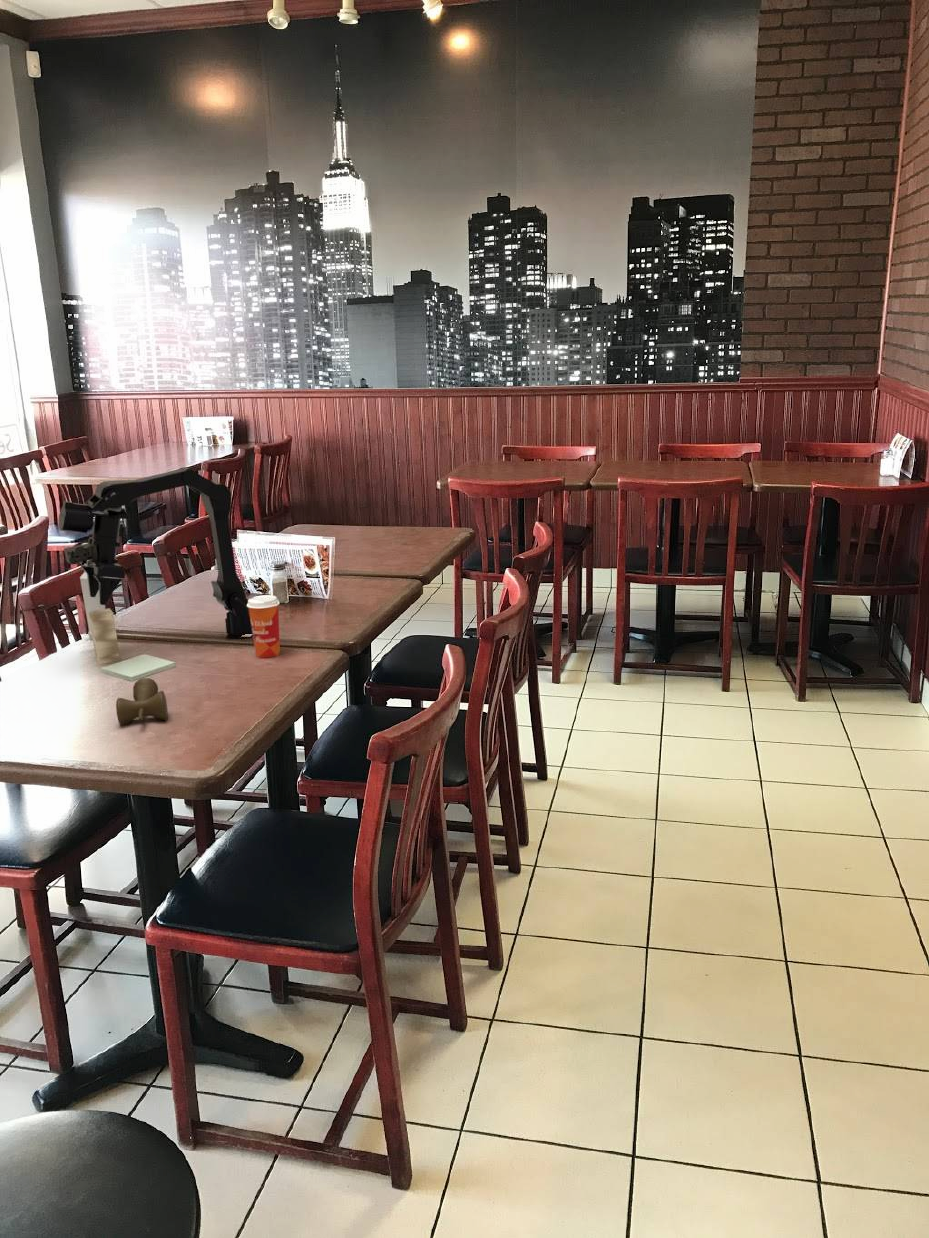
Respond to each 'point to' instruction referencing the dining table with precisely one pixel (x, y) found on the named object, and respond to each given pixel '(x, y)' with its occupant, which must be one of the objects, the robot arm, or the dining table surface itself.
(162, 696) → the kendama
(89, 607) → the bottle
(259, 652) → the paper cup
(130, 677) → the sage pad
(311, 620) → the dining table surface
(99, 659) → the birch block
